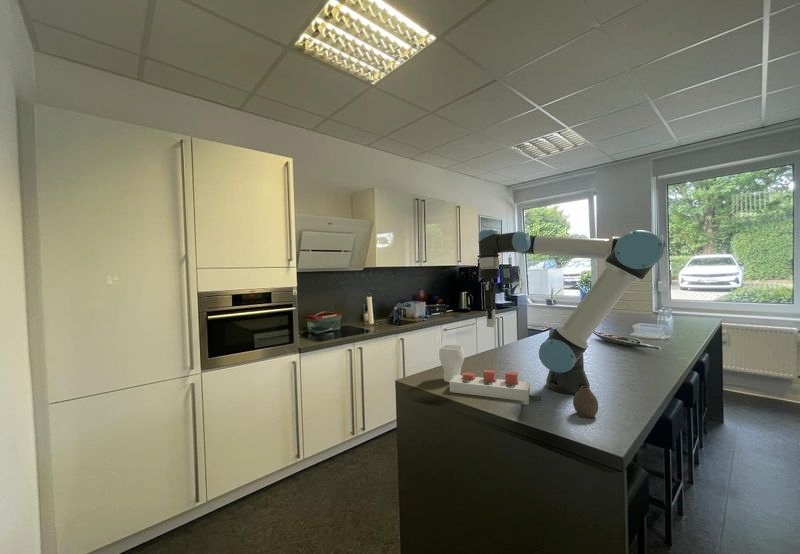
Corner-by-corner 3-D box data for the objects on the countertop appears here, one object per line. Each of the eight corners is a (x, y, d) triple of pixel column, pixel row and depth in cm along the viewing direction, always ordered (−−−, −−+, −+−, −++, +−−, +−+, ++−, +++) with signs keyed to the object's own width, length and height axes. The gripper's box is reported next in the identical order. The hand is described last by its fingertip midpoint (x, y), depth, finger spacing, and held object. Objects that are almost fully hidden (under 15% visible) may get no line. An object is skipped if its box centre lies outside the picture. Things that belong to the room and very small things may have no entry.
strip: (541, 397, 117) (541, 382, 117) (541, 406, 109) (540, 391, 109) (456, 387, 131) (455, 374, 131) (449, 394, 123) (449, 381, 123)
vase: (568, 411, 104) (567, 384, 104) (588, 409, 105) (587, 383, 105) (582, 420, 98) (581, 392, 98) (604, 419, 98) (603, 390, 98)
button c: (475, 382, 127) (474, 373, 127) (473, 384, 124) (472, 375, 124) (465, 381, 128) (464, 372, 128) (463, 383, 125) (462, 374, 125)
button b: (495, 379, 123) (495, 370, 123) (494, 382, 120) (494, 372, 120) (485, 378, 125) (484, 369, 125) (483, 381, 122) (483, 371, 122)
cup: (465, 386, 131) (463, 350, 131) (439, 386, 133) (437, 349, 133) (465, 378, 141) (464, 344, 141) (441, 378, 143) (439, 344, 143)
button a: (517, 381, 120) (517, 372, 120) (517, 384, 117) (516, 374, 117) (506, 380, 121) (506, 371, 121) (505, 383, 119) (505, 373, 119)
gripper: (483, 268, 139) (485, 322, 139) (475, 268, 124) (477, 329, 124) (501, 268, 136) (503, 323, 136) (495, 267, 121) (497, 329, 121)
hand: (491, 325), depth 130 cm, fingers open, 4 cm apart
